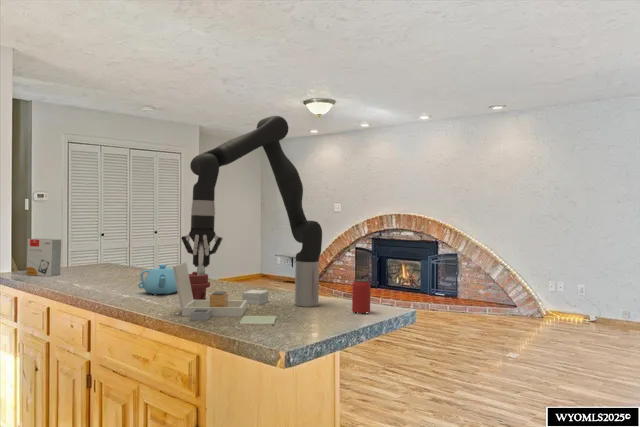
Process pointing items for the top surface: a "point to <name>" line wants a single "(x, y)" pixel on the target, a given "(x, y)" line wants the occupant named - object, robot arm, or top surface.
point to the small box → (255, 297)
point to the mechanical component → (199, 285)
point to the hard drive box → (43, 257)
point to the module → (219, 299)
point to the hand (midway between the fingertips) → (201, 266)
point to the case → (202, 307)
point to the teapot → (159, 280)
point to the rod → (201, 259)
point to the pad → (258, 320)
